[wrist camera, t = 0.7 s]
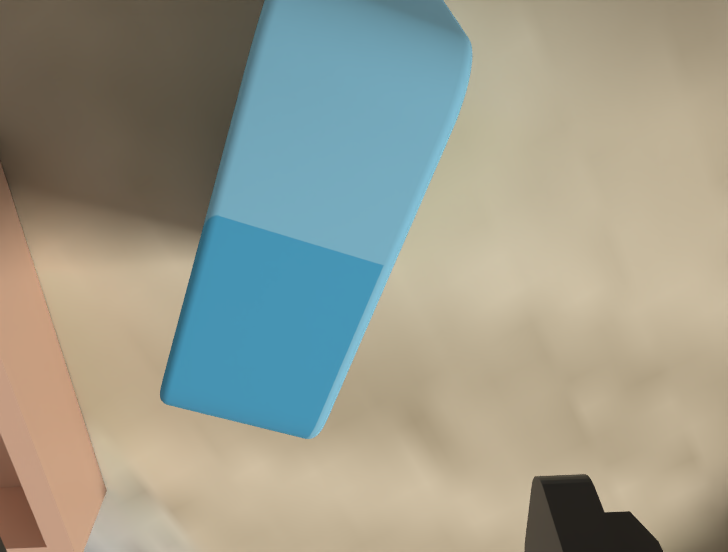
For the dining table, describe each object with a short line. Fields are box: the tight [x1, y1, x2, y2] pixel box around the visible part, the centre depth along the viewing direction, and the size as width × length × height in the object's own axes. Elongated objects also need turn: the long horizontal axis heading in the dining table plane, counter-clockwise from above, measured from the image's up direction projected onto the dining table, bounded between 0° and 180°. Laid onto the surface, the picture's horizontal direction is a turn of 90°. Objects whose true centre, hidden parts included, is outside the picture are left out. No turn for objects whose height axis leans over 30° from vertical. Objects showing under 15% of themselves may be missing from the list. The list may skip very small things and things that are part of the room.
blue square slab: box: [160, 0, 472, 439], centre depth 21 cm, size 12×4×12 cm, turn 160°
